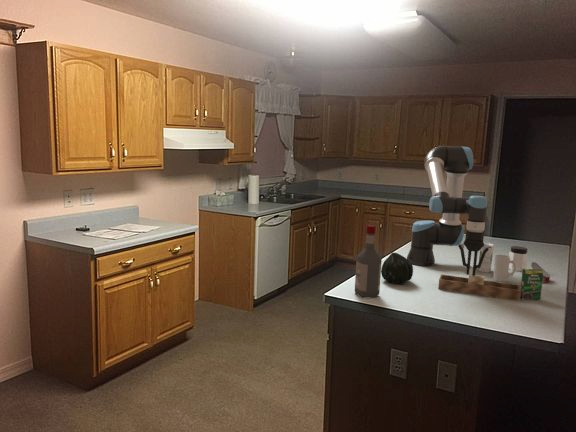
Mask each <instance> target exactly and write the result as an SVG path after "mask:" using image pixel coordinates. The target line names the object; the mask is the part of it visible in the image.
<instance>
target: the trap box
mask: <svg viewBox="0 0 576 432" xmlns="http://www.w3.org/2000/svg"><path fill="white" fill-rule="evenodd" d="M468 279H469V277H464V276H463V277H462V276H454V275H449V274H442V273H441V274H440V276H439V279H438V288H437V289H438V290H441V289H444V290H443V291H448V290H450V292H455V291H457V293H462V292H464V293H463V294H469V293H470V295H476V294H477V296H483V297H489V296H491V298H496V297H497V299H504V300H509V301H510V300H511V301H517V302H518V301H519V302H521V298H520V296H521V284H516V283H508V282H507V283H506V282H502V281H495V280H492V281H491V280H485V279H484V285H479V284H472V283H468Z"/></svg>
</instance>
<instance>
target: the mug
mask: <svg viewBox="0 0 576 432" xmlns="http://www.w3.org/2000/svg"><path fill="white" fill-rule="evenodd" d="M509 263H512V264H513V265H514V270H512V272H509V270H510V269H509ZM493 265H494V266H493V281H495V282H507V281H508V277H513V276H514V275H515V273H516V272H517V271H516V263H515V260H512V261H511V260H510V256H509V255H507V254H506V255H505V254H495V255H494V264H493Z"/></svg>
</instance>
